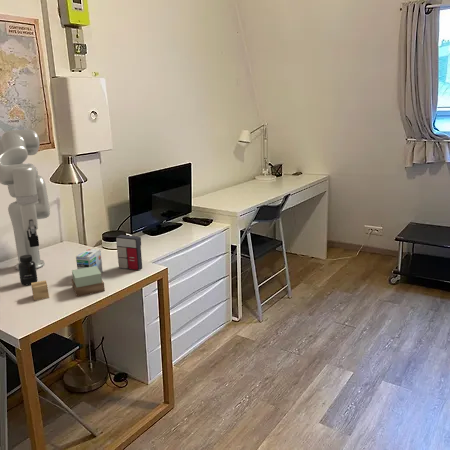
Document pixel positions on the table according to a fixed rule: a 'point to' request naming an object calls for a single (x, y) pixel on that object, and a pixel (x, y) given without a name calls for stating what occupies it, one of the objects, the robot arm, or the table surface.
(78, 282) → the sage block
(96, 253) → the light bulb box
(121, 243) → the grey red box
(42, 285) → the oak cube
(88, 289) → the walnut block
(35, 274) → the supplement bottle
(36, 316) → the table surface
